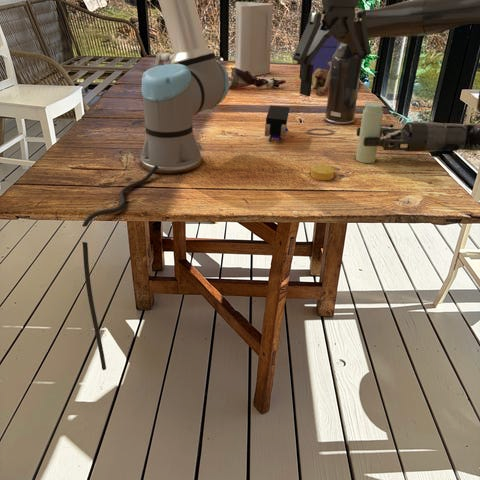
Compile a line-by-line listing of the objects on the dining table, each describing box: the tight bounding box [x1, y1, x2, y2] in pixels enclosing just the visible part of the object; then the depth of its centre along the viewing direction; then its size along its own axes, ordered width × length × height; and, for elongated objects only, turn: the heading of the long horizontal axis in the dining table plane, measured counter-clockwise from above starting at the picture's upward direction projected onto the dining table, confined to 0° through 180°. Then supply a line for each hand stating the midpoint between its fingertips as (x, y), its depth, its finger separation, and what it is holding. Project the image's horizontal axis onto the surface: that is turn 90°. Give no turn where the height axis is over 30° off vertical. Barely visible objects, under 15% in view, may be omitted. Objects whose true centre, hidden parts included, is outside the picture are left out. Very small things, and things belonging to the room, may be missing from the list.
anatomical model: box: [311, 61, 331, 96], centre depth 186 cm, size 13×9×15 cm
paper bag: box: [234, 1, 274, 77], centre depth 210 cm, size 19×15×28 cm
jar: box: [355, 101, 384, 164], centre depth 123 cm, size 5×5×15 cm
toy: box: [155, 51, 218, 66], centre depth 223 cm, size 24×25×7 cm
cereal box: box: [310, 23, 339, 73], centre depth 202 cm, size 17×5×24 cm, turn 86°
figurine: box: [229, 66, 287, 89], centre depth 190 cm, size 24×8×30 cm
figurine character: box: [264, 105, 290, 143], centre depth 140 cm, size 7×8×15 cm
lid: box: [310, 164, 335, 181], centre depth 117 cm, size 6×6×2 cm
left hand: (328, 91), depth 107 cm, fingers open, 13 cm apart
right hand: (360, 136), depth 124 cm, fingers open, 7 cm apart
